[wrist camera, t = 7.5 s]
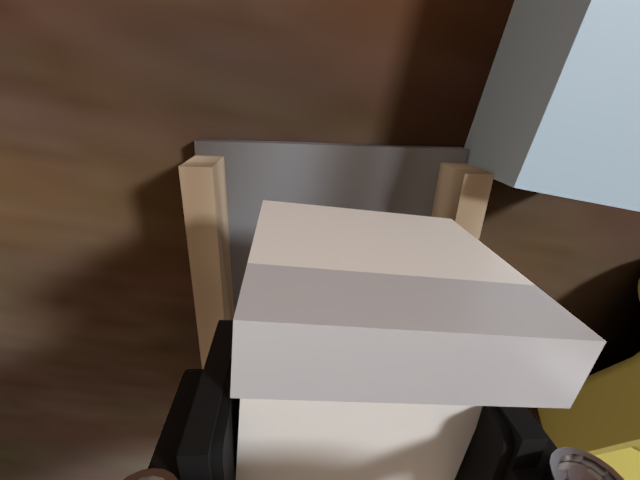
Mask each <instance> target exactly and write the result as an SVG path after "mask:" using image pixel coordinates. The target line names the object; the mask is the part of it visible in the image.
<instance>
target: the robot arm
mask: <svg viewBox="0 0 640 480" xmlns="http://www.w3.org/2000/svg"><path fill="white" fill-rule="evenodd" d="M232 336H233V320H219V321H218V324H217V327H216V330H215V333H214V337H213V340H212V343H211V346H210V350H209V353H208V356H207V359H206V363H205V366H204V369H187V370H186V371H185V372H184V374H183V376H182V379H181V382H180V384H179V387H178V390H177V392H176V395H175V398H174V400H173V403H172V406H171V408H170V411H169V414H168V416H167V419H166V422H165V424H164V427H163V430H162V432H161V435H160V438H159V440H158V443H157V446H156V448H155V451H154V454H153V456H152V459H151V462H150V464H149V467H148V469H145V470H141V471H138V472H136V473H134V474H132V475H129V476H128V477H126V478H125V479H123V480H236V465H237V446H238V427H239V409H240V398H230V388H231V362H232ZM454 480H624V479H623V477H622V476H620V475H619V474H618V473H617V472H616V471H615V470H614V469H613V468H612V467H611V466H610V465H608V464H607V463H605V462H604V461H603V460H601V459H600V458H598V457H596V456H594V455H592V454H590V453H589V452H586V451H583V450H580V449H577V448H570V447H563V448H559V449H558V448H557V447H556V446H555V444H554V443H553V442H552V440H551V439H550V438H549V436H548V435H547V434H546V432H545V431H544V430H543V428H542V427H541V426H540V424H539V423H538V422H537V420H536V419H535V418H534V416H533V415H532V414H531V412H530V411H529V410H528V408H527V407H501V406H482V410H481V413H480V416H479V420H478V423H477V426H476V429H475V432H474V434H473V436H472V439H471V441H470V444H469V446H468V448H467V451H466V453H465V456H464V458H463V460H462V463H461V465H460V467H459V470H458V472H457V475H456V477H455V479H454Z"/></svg>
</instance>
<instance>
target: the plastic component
mask: <svg viewBox="0 0 640 480" xmlns="http://www.w3.org/2000/svg"><path fill="white" fill-rule="evenodd" d="M638 296H639V301H640V279H639V281H638ZM538 413H539V417H540V420H541V424H542V428H543V430H544V431H545V432H546V434H547V435H548V436H549V438H550V439H551V440H552V442H553V443H554V444H555V446H556V447H557V448H558V449H559V448H563V447H570V448H577V449H580V450H583V451H586V452H589V453H590V454H592V455H594V456H596V457H598V458H600V459H601V460H603V461H604V462H605V463H607V464H608V465H610V466H611V467H612V468H613V469H614V470H615V471H616V472H617V473H618V474H619V475H620V476H622V477H623V479H624V480H640V351H639V352H638V353H637V354H636V355H634V356H633V357H631V358H629V359H626V360H624V361H622V362H619V363H617V364H615V365H612V366H610V367H608V368H605V369H603V370H601V371H598V372H596V373H594V374H592V375H589V376H588V377H587V378H586V380H585V382H584V384H583V386H582V388H581V389H580V391H579V393H578V395H577V397H576V399H575V400H574V402H573V404H572V406H571V408H570V409H566V408H538Z"/></svg>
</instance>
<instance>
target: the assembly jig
mask: <svg viewBox="0 0 640 480" xmlns="http://www.w3.org/2000/svg"><path fill="white" fill-rule="evenodd" d="M194 147H195V156H194V157H192V158H190V159H189V160H187V161H186V162H184V163H183V164H181V165H180V166H178V168H179V177H180V185H181V194H182V202H183V211H184V219H185V228H186V236H187V245H188V253H189V262H190V271H191V279H192V288H193V296H194V305H195V313H196V322H197V330H198V339H199V347H200V356H201V364H202V369H204V366H205V363H206V359H207V356H208V353H209V350H210V346H211V343H212V340H213V337H214V333H215V330H216V327H217V324H218V321H219V320H233V319H234V315H235V311H236V307H237V303H238V299H239V295H240V290H241V286H242V282H243V278H244V274H245V270H246V266H247V262H248V258H249V254H250V250H251V246H252V242H253V238H254V234H255V230H256V226H257V222H258V218H259V214H260V210H261V206H262V202H263V200H269V201H279V202H289V203H299V204H309V205H319V206H329V207H339V208H349V209H359V210H369V211H379V212H389V213H399V214H409V215H419V216H429V217H439V218H449V219H452V220H453V221H455V222H456V223H457V224H459V225H460V226H461V227H462V228H464V229H465V230H466V231H467V232H469V233H470V234H471V235H472V236H474V237H475V238H476V239H478V240H479V237H480V233H481V229H482V225H483V220H484V216H485V212H486V208H487V204H488V199H489V195H490V191H491V187H492V182H493V178H494V174H492V173H489V172H487V171H484V170H482V169H480V168H477V167H475V166H472V165H470V164H467V163H466V162H467V157H468V152H469V149H466V148H463V147H440V146H409V145H378V144H347V143H316V142H285V141H254V140H223V139H197V140H195V141H194Z"/></svg>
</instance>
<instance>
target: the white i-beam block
mask: <svg viewBox="0 0 640 480" xmlns="http://www.w3.org/2000/svg"><path fill="white" fill-rule="evenodd" d="M606 342H607V341H605V340H604V339H603V338H602V337H600V336H599V335H598V334H597V333H595V332H594V331H593V330H591V329H590V328H589V327H588V326H586V325H585V324H584V323H583V322H581V321H580V320H579V319H578V318H576V317H575V316H574V315H572V314H571V313H570V312H569V311H567V310H566V309H565V308H564V307H562V306H561V305H560V304H559V303H557V302H556V301H555V300H553V299H552V298H551V297H550V296H548V295H547V294H546V293H545V292H543V291H542V290H541V289H540V288H538V287H537V286H536V285H535V284H533V283H532V282H531V281H529V280H528V279H527V278H526V277H524V276H523V275H522V274H521V273H519V272H518V271H517V270H516V269H514V268H513V267H512V266H510V265H509V264H508V263H507V262H505V261H504V260H503V259H502V258H500V257H499V256H498V255H497V254H495V253H494V252H493V251H491V250H490V249H489V248H488V247H486V246H485V245H484V244H483V243H481V242H480V241H479V240H478V239H476V238H475V237H474V236H472V235H471V234H470V233H469V232H467V231H466V230H465V229H464V228H462V227H461V226H460V225H459V224H457V223H456V222H455V221H453V220H452V219H449V218H439V217H429V216H419V215H409V214H399V213H389V212H379V211H369V210H359V209H349V208H339V207H329V206H319V205H309V204H299V203H289V202H279V201H269V200H263V202H262V206H261V210H260V214H259V218H258V222H257V226H256V230H255V234H254V238H253V242H252V246H251V250H250V254H249V258H248V262H247V266H246V270H245V274H244V278H243V282H242V286H241V290H240V295H239V299H238V303H237V307H236V311H235V315H234V319H233V336H232V362H231V388H230V398H240V409H239V427H238V446H237V465H236V480H454V479H455V477H456V475H457V472H458V470H459V467H460V465H461V463H462V460H463V458H464V456H465V453H466V451H467V448H468V446H469V444H470V441H471V439H472V436H473V434H474V432H475V429H476V426H477V423H478V420H479V416H480V413H481V410H482V406H501V407H533V408H566V409H570V408H571V406H572V404H573V402H574V400H575V399H576V397H577V395H578V393H579V391H580V389H581V388H582V386H583V384H584V382H585V380H586V378H587V377H588V375H589V373H590V371H591V369H592V368H593V366H594V364H595V362H596V360H597V358H598V357H599V355H600V353H601V351H602V349H603V347H604V346H605V344H606Z"/></svg>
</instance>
